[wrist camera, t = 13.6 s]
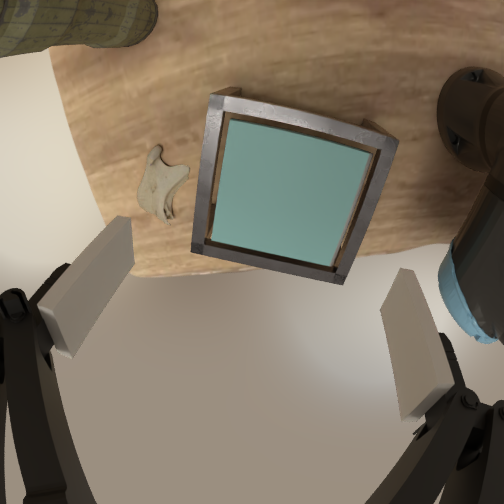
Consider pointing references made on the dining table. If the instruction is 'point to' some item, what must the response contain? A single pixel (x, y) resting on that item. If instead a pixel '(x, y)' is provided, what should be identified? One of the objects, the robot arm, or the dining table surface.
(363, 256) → the dining table surface
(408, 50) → the dining table surface
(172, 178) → the fossil
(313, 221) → the trapdoor
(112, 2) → the thermos
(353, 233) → the frame
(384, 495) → the robot arm
